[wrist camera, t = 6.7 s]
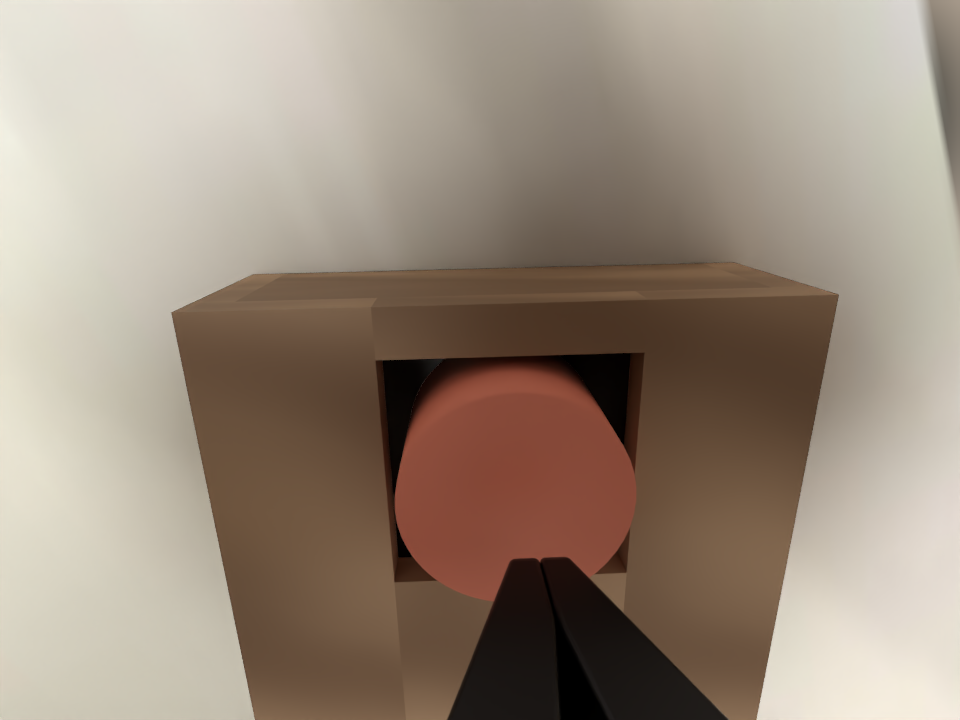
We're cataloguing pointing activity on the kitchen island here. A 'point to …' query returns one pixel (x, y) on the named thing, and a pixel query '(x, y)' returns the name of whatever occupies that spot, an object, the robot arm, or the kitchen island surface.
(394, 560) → the press box
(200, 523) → the kitchen island surface
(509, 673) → the robot arm
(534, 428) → the pink round plug
